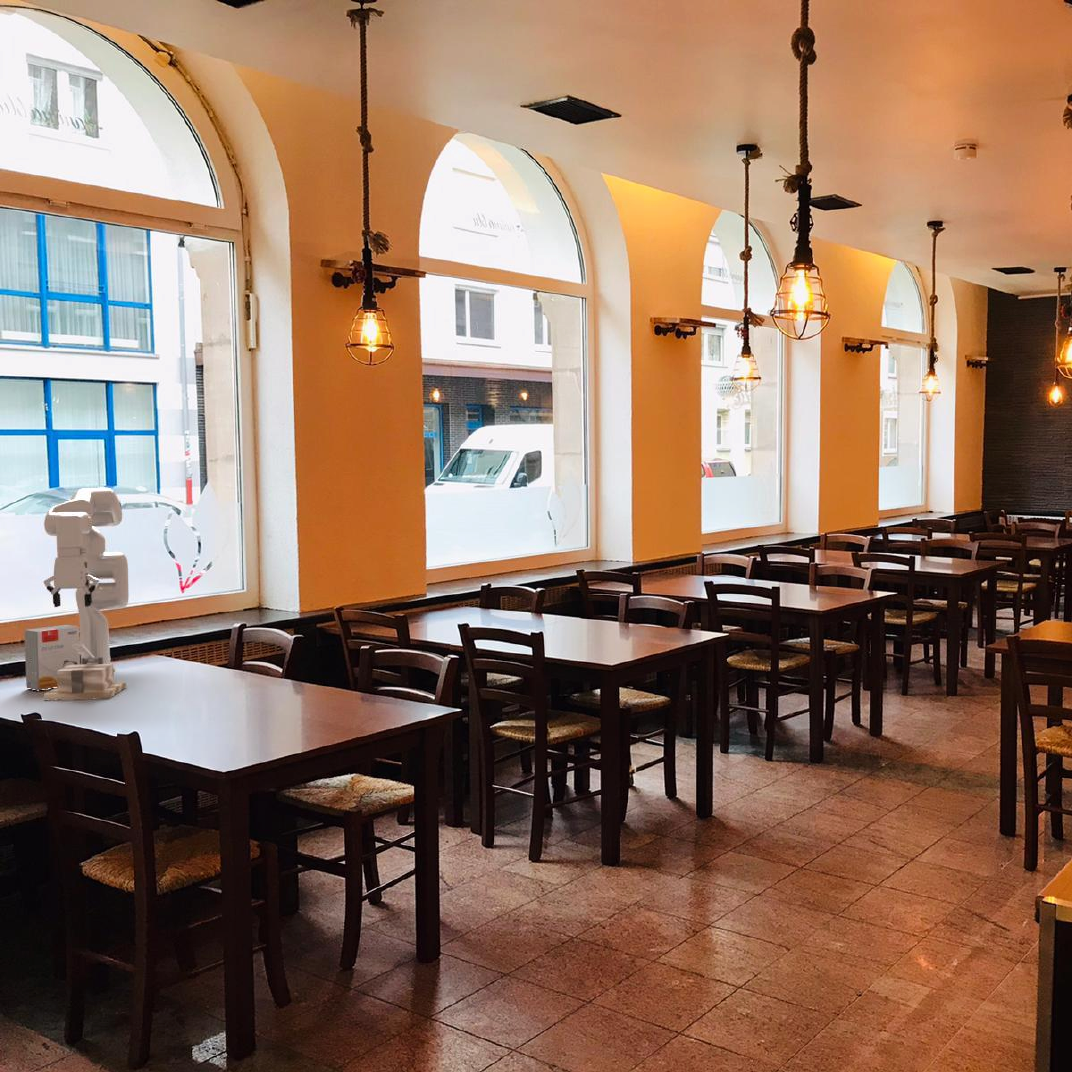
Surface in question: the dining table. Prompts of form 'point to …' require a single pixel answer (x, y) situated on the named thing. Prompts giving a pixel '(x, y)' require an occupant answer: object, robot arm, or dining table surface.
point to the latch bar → (85, 653)
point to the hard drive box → (49, 654)
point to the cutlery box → (85, 682)
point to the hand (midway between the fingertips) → (72, 606)
